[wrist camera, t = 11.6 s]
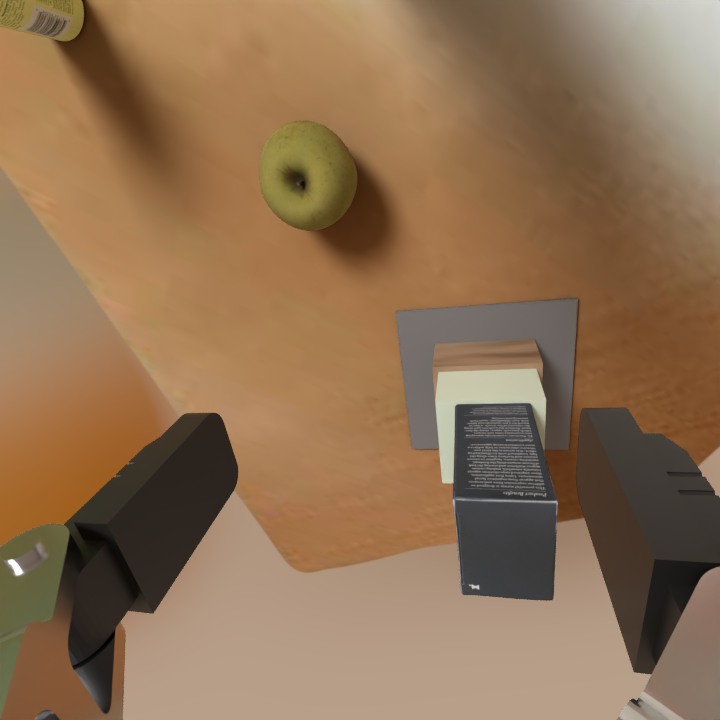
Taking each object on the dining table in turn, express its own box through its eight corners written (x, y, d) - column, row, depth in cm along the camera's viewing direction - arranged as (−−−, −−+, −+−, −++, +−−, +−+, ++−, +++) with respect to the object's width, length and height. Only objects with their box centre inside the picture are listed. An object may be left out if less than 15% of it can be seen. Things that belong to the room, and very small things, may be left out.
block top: (438, 372, 38) (435, 401, 34) (536, 368, 36) (546, 399, 32) (444, 447, 42) (442, 483, 37) (534, 447, 40) (543, 485, 35)
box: (530, 483, 36) (554, 604, 26) (459, 481, 37) (457, 595, 28) (532, 399, 32) (560, 504, 23) (454, 401, 34) (450, 500, 24)
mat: (396, 311, 43) (395, 312, 42) (577, 298, 39) (578, 299, 38) (412, 446, 49) (411, 448, 49) (568, 447, 45) (568, 449, 45)
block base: (435, 344, 43) (432, 367, 38) (534, 338, 41) (542, 362, 36) (441, 421, 46) (439, 451, 42) (532, 421, 44) (540, 452, 40)
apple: (307, 234, 41) (279, 251, 35) (265, 148, 39) (226, 150, 32) (380, 199, 38) (364, 210, 32) (340, 104, 36) (314, 96, 30)
